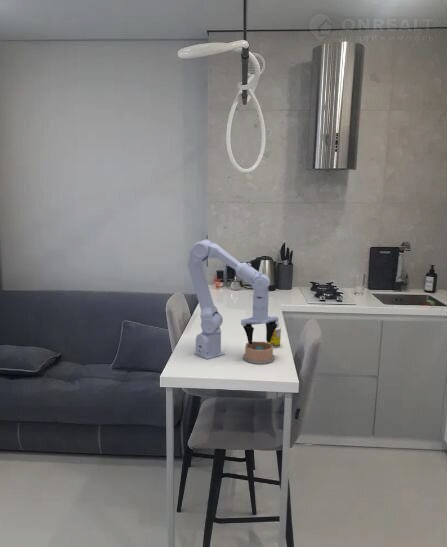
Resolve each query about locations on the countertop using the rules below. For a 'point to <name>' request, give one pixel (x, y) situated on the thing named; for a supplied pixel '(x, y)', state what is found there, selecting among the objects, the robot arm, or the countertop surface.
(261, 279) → the robot arm
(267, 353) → the octagonal bowl
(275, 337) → the supplement bottle
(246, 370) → the countertop surface
